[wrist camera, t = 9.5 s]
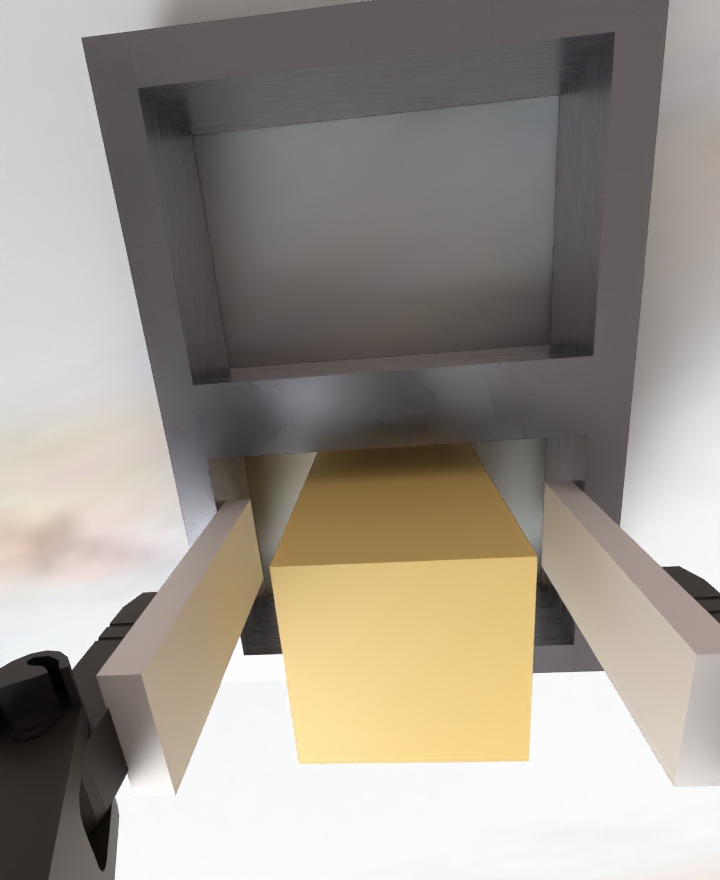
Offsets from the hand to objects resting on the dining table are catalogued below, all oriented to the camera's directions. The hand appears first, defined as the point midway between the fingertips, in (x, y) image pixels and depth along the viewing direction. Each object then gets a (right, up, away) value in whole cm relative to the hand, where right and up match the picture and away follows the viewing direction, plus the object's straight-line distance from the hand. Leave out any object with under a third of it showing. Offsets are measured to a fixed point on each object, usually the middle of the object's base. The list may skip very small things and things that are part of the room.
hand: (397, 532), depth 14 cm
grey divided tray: (0, +4, +1) cm, 5 cm away
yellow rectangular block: (0, 0, +2) cm, 2 cm away
